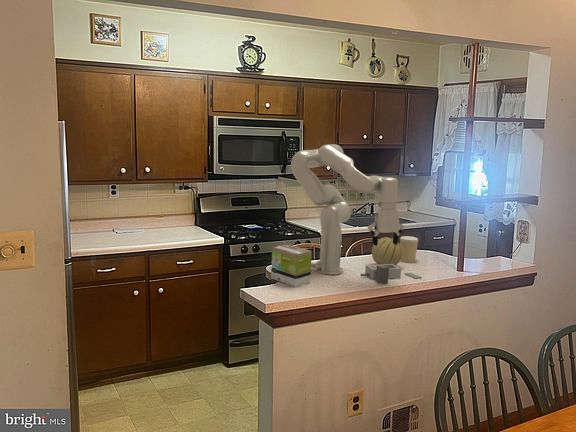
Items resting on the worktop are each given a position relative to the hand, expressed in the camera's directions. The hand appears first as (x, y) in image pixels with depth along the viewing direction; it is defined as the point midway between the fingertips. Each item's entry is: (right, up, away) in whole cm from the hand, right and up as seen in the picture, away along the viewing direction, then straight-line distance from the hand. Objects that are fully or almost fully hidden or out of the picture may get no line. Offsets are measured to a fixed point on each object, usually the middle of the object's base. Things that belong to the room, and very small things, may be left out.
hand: (385, 244), depth 236 cm
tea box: (-41, -16, -1) cm, 44 cm away
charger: (-1, -17, +3) cm, 17 cm away
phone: (+15, -16, +15) cm, 26 cm away
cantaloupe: (+6, -13, +29) cm, 32 cm away
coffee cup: (+19, -11, +43) cm, 48 cm away
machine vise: (-1, -15, +11) cm, 19 cm away
